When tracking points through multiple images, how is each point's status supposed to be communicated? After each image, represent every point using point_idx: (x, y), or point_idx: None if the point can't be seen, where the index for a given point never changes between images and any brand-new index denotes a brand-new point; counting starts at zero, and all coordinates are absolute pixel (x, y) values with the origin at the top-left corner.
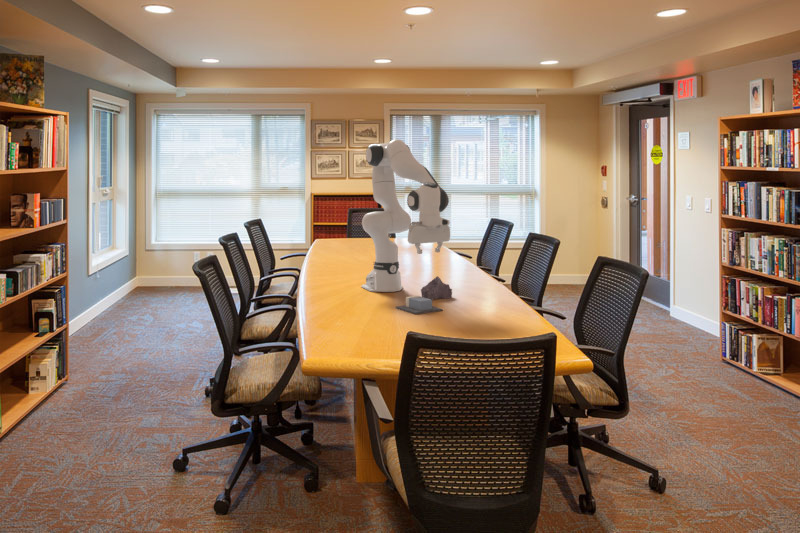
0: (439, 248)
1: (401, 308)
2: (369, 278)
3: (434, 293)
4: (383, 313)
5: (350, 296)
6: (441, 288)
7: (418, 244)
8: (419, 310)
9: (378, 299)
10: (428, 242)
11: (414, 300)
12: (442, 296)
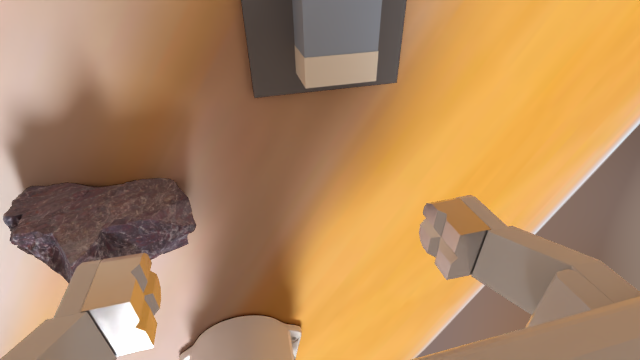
0: (74, 311)
1: (402, 32)
2: None
3: (132, 196)
4: (494, 9)
5: (384, 287)
6: (78, 216)
7: (615, 287)
8: None
9: (344, 237)
10: (440, 356)
11: None
12: (85, 189)
